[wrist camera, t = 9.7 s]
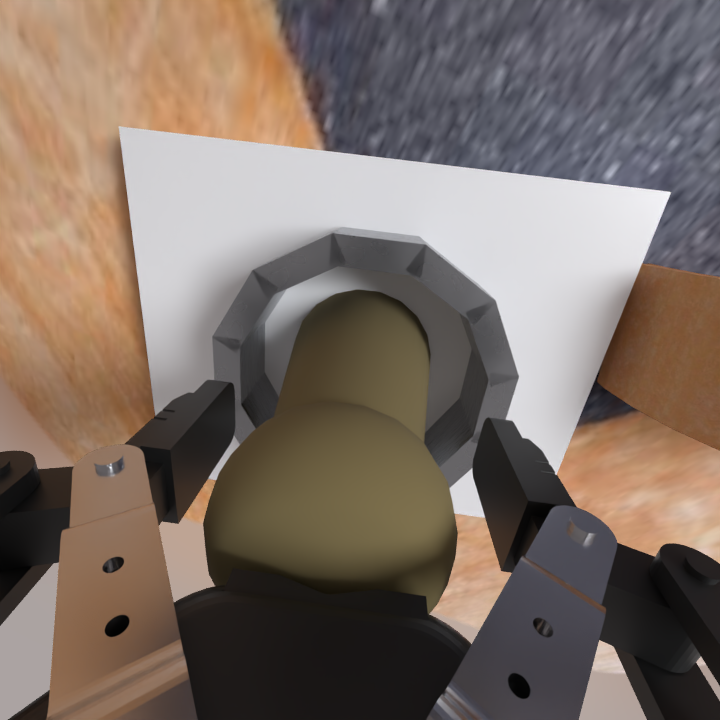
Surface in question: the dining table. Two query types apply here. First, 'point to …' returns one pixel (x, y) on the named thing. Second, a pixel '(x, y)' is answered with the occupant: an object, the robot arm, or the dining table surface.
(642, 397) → the arch
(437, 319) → the fitting board
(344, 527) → the cork
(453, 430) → the steel ring
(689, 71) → the dining table surface
